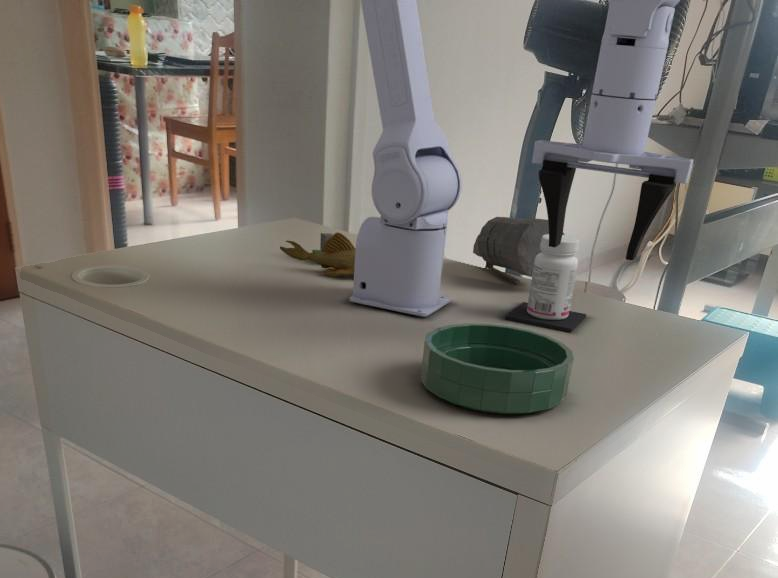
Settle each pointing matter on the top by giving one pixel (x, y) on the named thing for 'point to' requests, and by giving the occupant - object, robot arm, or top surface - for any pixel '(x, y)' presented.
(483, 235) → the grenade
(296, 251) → the fish
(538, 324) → the mat
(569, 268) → the pill bottle
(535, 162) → the robot arm
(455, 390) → the bowl
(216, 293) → the top surface
